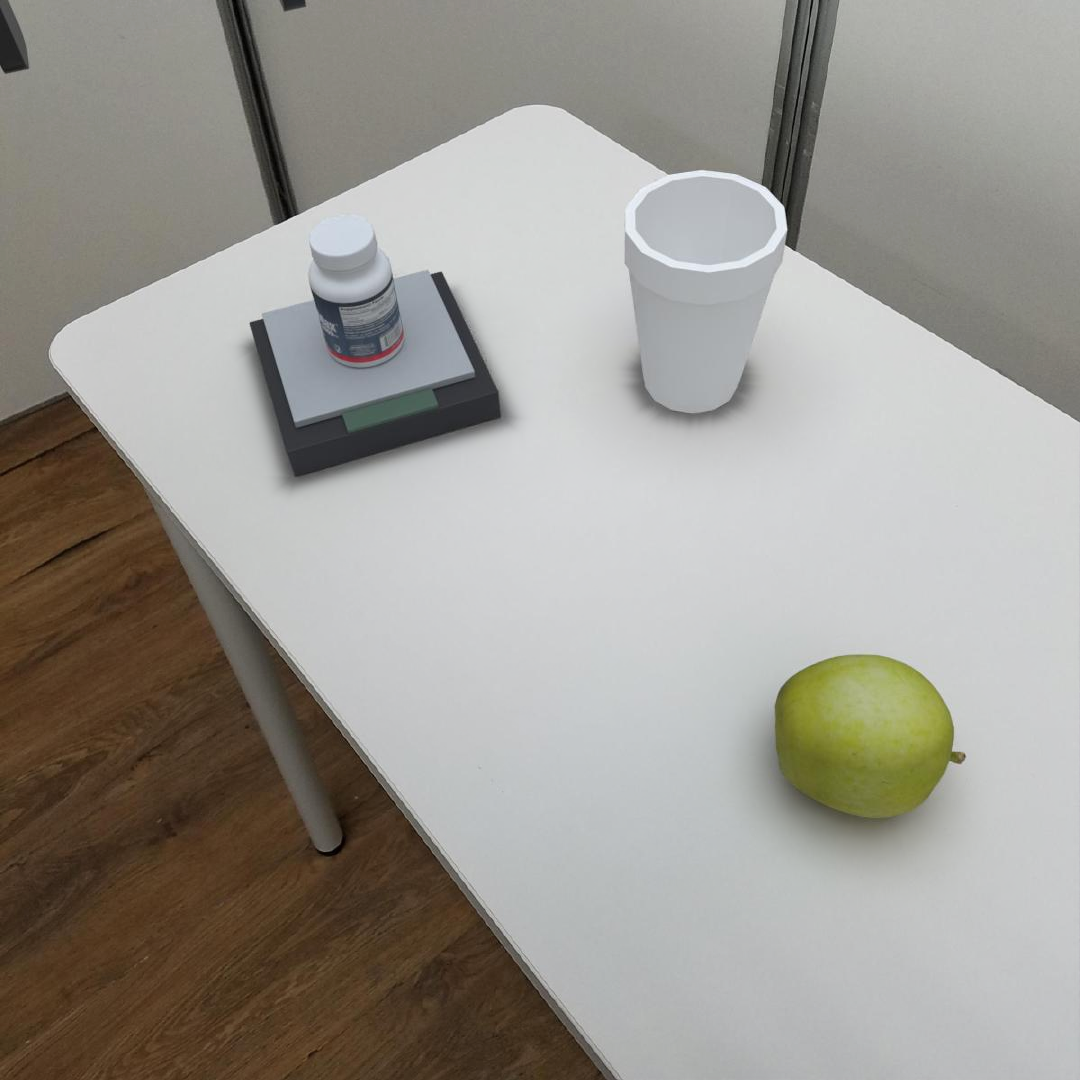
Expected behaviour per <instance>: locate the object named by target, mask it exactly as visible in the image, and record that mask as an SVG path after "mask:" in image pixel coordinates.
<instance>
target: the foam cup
mask: <svg viewBox="0 0 1080 1080" xmlns="http://www.w3.org/2000/svg"><path fill="white" fill-rule="evenodd" d="M624 212H625V213H624V265H625V266H626V268H627V269H628V275H629V281H630V290H631V296H632V305H633V311H634V318H635V319H634V320H635V326H636V327H635V328H636V333H637V342H638V349H639V356H640V363H641V370H642V371H641V372H642V378H643V381H644V388H645V390H647V392H648V394H649V395H650V396H651V398H652V400H653V401H654V402H656V403H658V404H660V405H661V406H663V407H665V408H667V409H668V410H671V411H675V412H681V413H686V414H692V415H693V414H699V413H706V412H711V411H715V410H716V409H718V408H720V407H721V406H723V405H725V404H726V403H728V402H730V401H731V399H732V397H733V395H734V394H735V392H736V391H737V389H738V387H739V383H740V381H741V379H742V375H743V373H744V370H745V367H746V363H747V360H748V358H749V355H750V352H751V348H752V345H753V342H754V340H755V336H756V333H757V329H758V327H759V325H760V324H759V323H760V321H761V318H762V315H763V311H764V309H765V305H766V302H767V300H768V296H769V293H770V290H771V287H772V284H773V281H774V278H775V275H776V274H777V271H778V270H779V268H780V267H781V265H782V263H783V259H784V253H785V247H786V241H787V235H788V224H787V216H786V210H785V206H784V205H783V204H782V202H781V201H779V200H778V198H777V197H776V196H775V195H774V194H773V193H772V192H771V191H770V190H769V189H768V188H767V187H766V186H764V185H762V184H760V183H757V182H755V181H753V180H750V179H748V178H746V177H744V176H742V175H739V174H737V173H730V172H729V173H728V172H722V171H721V172H720V171H712V170H706V169H705V170H704V169H700V170H693V171H686V172H685V171H684V172H679V173H678V172H677V173H673V174H667V175H665V176H663V177H661V178H659V179H657V180H655V181H653V182H651V183H648V184H647V185H645V186H643V187H640V189H639V190H638V191H637V193H636V194H635V195H634V196H633V198H632V199H631V200H630V202H628V204H627V205H626V206H625V208H624Z"/></svg>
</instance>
